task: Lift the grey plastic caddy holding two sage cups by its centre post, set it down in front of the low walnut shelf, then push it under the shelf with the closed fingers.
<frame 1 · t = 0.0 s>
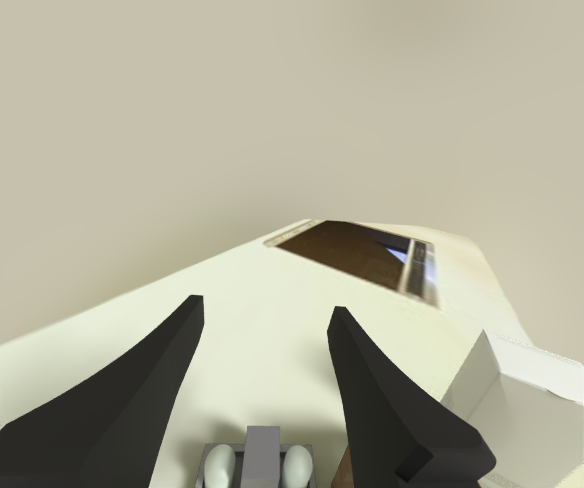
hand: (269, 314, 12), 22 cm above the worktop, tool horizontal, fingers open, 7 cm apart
grey plastic caddy: (256, 487, 22), on the worktop
skincare box: (469, 459, 26), on the worktop
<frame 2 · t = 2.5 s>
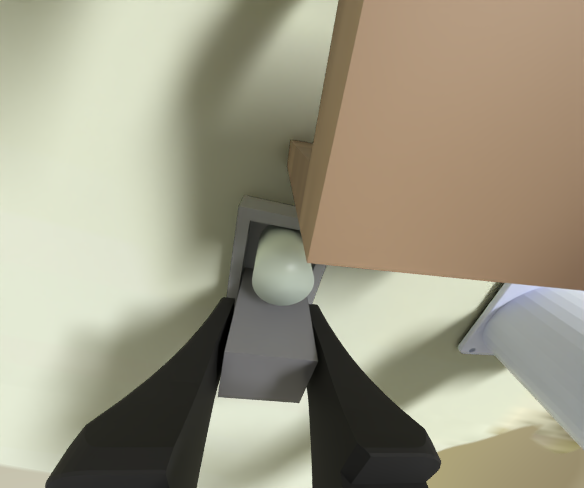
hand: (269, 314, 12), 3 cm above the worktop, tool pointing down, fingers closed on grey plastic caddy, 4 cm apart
walnut shelf: (435, 80, 10), on the worktop
grey plastic caddy: (270, 281, 15), on the worktop, touching gripper
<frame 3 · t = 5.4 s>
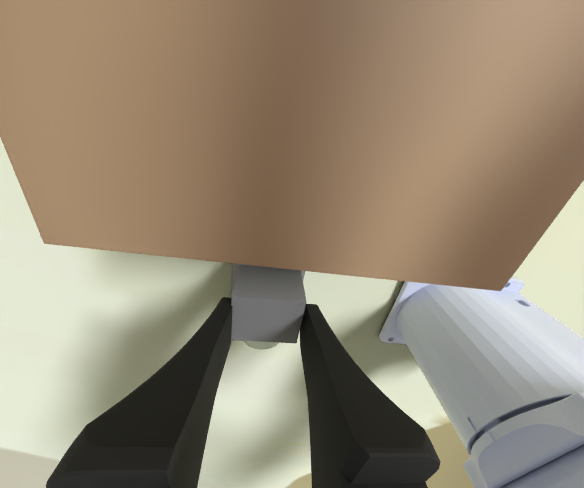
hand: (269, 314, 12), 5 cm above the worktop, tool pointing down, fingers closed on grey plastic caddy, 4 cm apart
walnut shelf: (300, 103, 12), on the worktop
grey plastic caddy: (269, 256, 17), on the worktop, touching gripper
when the fingers open (4 cm above the worktop, at t = 6.0 s): grey plastic caddy moves 8 cm, on the worktop.
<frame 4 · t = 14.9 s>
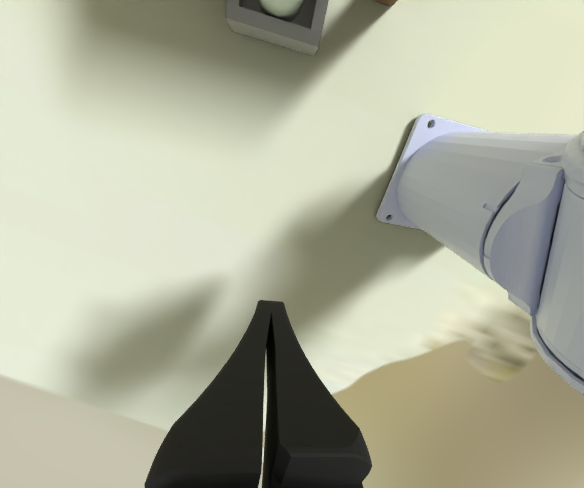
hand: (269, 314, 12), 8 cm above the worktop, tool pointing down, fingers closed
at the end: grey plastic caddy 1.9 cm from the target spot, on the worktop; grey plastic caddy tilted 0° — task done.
